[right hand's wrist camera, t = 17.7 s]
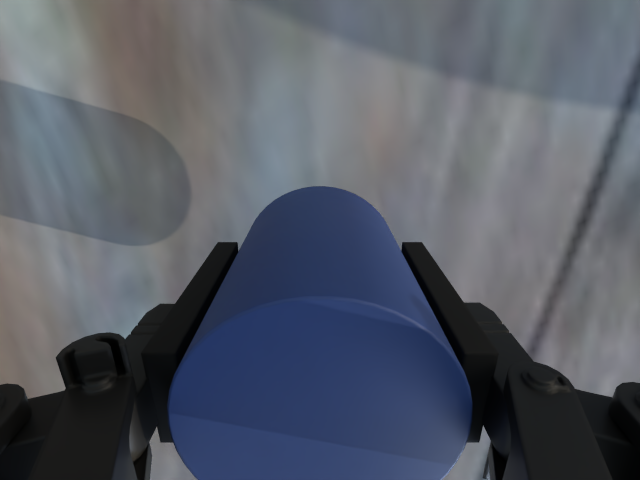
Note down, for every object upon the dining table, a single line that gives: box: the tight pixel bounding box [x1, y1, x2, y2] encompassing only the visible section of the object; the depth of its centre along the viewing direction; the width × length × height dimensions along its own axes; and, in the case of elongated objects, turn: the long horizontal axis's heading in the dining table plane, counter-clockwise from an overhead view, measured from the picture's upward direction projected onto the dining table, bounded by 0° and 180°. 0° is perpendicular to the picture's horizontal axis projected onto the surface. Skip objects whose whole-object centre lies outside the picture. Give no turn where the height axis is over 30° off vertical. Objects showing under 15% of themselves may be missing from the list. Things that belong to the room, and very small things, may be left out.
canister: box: [167, 186, 472, 480], centre depth 12 cm, size 6×6×9 cm
